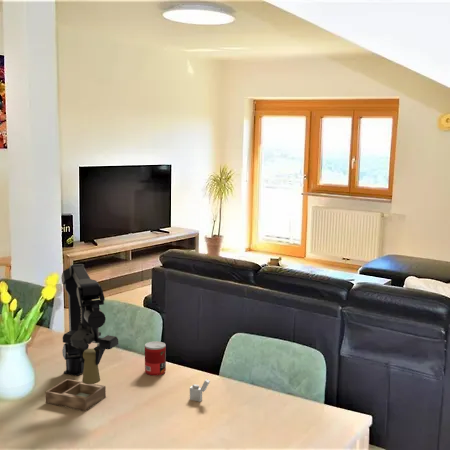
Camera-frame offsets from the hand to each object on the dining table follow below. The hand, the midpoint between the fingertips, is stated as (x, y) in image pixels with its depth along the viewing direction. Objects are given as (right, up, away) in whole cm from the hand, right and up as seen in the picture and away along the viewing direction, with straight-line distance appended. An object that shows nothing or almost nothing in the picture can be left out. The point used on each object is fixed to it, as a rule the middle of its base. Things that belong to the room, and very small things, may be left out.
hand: (90, 363), depth 209 cm
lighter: (+37, -13, +2) cm, 39 cm away
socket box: (-5, -13, +2) cm, 14 cm away
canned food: (+19, -9, +27) cm, 34 cm away
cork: (0, -6, +1) cm, 6 cm away
